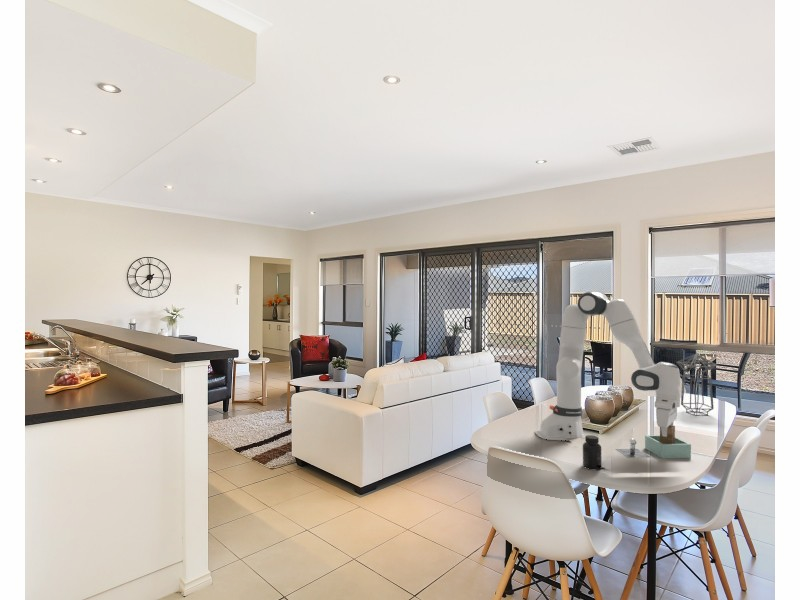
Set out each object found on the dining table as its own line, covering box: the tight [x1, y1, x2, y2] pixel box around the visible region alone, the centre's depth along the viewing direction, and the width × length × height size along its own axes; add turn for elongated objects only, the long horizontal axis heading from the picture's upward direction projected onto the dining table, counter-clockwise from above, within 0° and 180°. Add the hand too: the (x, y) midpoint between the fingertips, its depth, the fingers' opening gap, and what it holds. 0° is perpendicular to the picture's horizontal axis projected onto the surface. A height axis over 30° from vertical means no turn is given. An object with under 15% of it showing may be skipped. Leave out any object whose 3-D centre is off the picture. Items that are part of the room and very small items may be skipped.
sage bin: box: [644, 434, 692, 460], centre depth 188 cm, size 12×12×7 cm
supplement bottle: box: [582, 434, 603, 470], centre depth 175 cm, size 7×7×12 cm
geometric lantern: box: [675, 353, 718, 417], centre depth 258 cm, size 16×16×35 cm
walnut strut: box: [659, 425, 676, 444], centre depth 188 cm, size 5×5×12 cm
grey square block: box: [615, 438, 651, 459], centre depth 187 cm, size 10×10×8 cm
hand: (667, 433), depth 188 cm, fingers open, 8 cm apart
